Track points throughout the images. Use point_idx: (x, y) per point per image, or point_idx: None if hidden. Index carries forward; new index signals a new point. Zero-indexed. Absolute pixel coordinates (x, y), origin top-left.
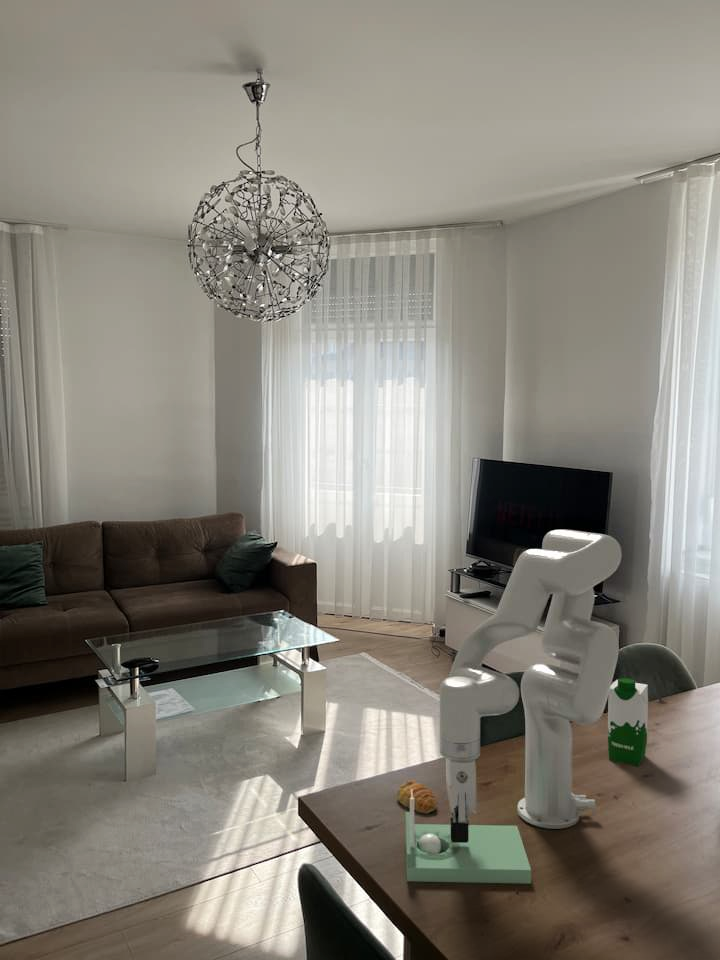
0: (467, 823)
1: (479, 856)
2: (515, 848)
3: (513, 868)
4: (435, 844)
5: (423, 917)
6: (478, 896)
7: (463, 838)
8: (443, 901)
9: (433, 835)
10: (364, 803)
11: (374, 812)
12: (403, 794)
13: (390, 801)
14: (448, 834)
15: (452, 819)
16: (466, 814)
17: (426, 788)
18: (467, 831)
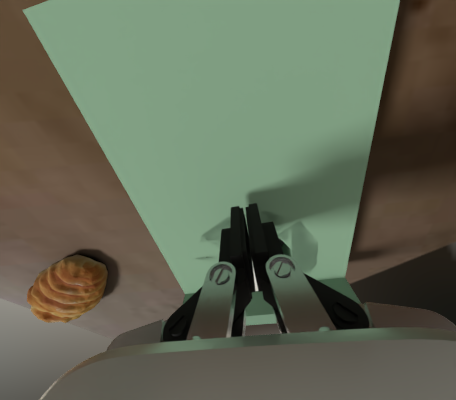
0: (266, 249)
1: (297, 158)
2: (221, 5)
3: (391, 3)
4: None
5: (446, 233)
6: (405, 138)
7: (273, 223)
8: (404, 209)
9: (254, 279)
10: (129, 324)
11: (146, 315)
12: (86, 311)
13: (102, 305)
14: (200, 239)
15: (250, 292)
16: (322, 310)
17: (36, 291)
18: (261, 225)
